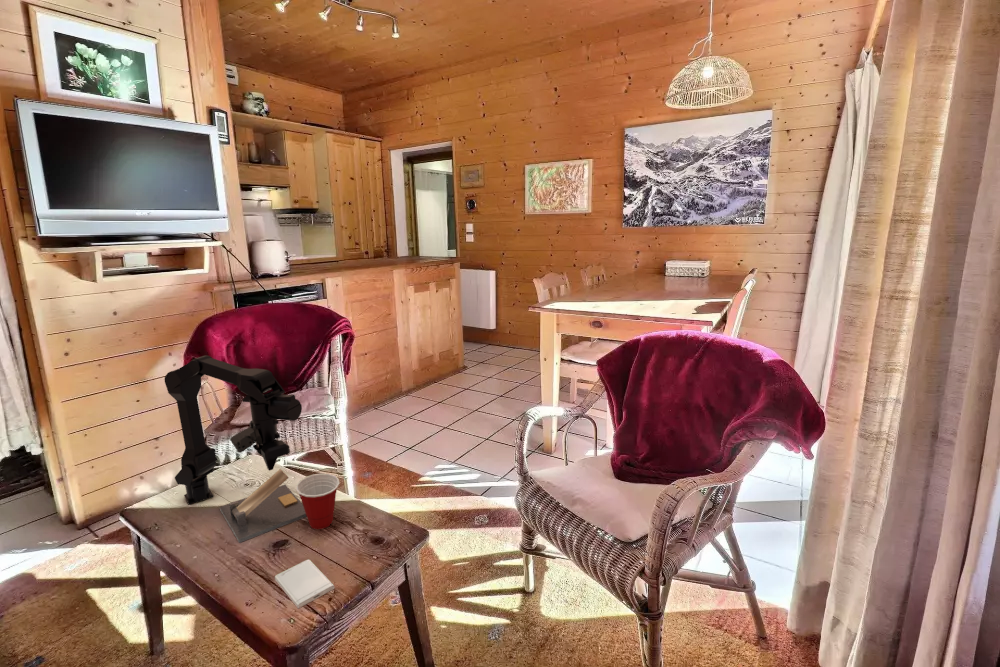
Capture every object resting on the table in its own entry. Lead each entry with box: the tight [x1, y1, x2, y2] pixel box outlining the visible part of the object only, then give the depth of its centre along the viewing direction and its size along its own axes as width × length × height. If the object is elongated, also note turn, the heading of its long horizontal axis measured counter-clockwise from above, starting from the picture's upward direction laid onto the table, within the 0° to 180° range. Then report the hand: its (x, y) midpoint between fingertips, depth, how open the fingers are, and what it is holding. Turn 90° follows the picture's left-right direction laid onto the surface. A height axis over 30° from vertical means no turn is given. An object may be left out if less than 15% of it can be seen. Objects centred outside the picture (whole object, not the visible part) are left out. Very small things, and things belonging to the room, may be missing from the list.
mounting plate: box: [219, 484, 307, 544], centre depth 139 cm, size 20×18×4 cm
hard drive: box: [274, 559, 335, 609], centre depth 112 cm, size 2×8×12 cm
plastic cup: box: [295, 472, 340, 530], centre depth 133 cm, size 11×11×12 cm
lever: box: [232, 468, 289, 520], centre depth 138 cm, size 5×16×2 cm
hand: (270, 469), depth 139 cm, fingers closed
